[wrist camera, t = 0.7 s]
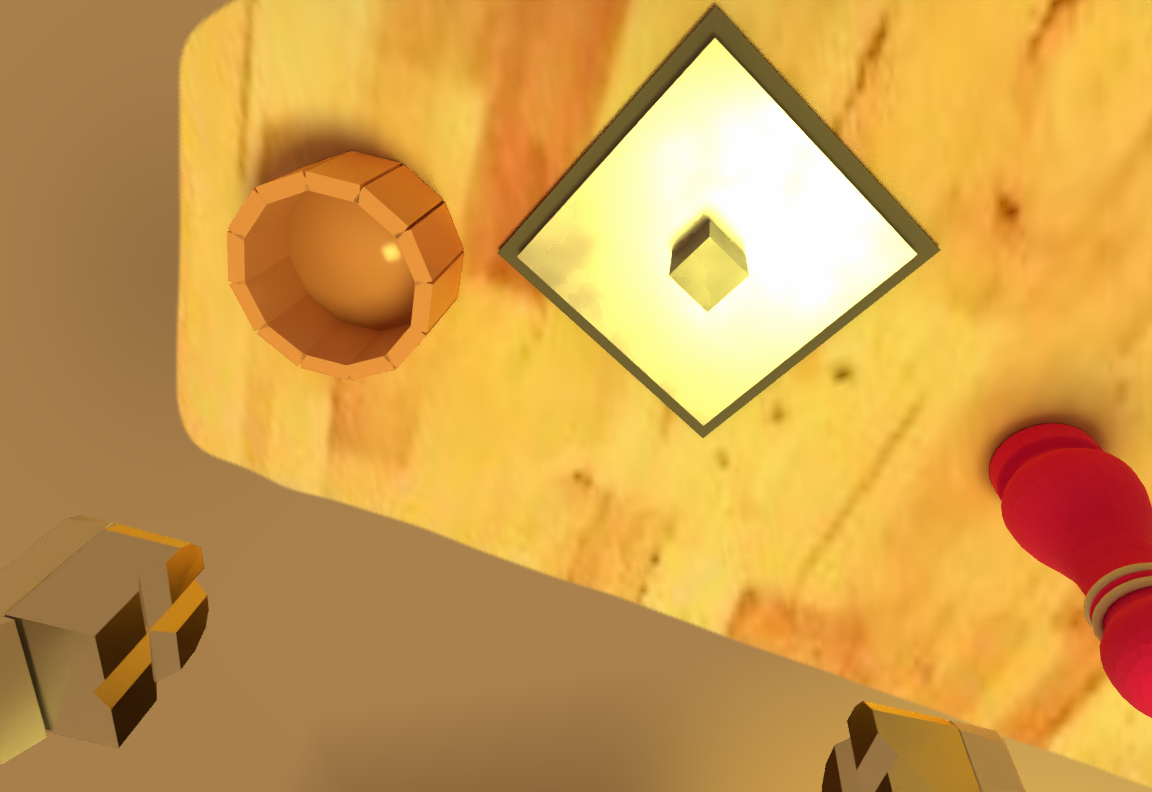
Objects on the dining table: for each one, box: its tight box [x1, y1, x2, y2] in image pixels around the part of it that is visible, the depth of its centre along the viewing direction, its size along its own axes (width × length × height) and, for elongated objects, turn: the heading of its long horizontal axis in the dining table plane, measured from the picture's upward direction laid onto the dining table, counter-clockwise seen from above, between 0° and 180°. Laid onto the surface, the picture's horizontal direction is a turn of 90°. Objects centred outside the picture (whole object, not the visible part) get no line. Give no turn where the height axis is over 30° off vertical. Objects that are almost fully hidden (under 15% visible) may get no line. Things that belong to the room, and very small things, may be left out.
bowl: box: [227, 151, 464, 380], centre depth 45 cm, size 12×12×6 cm
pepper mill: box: [989, 423, 1152, 718], centre depth 38 cm, size 7×7×20 cm
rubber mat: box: [498, 6, 940, 438], centre depth 44 cm, size 18×18×1 cm
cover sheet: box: [517, 37, 917, 426], centre depth 41 cm, size 16×16×4 cm
